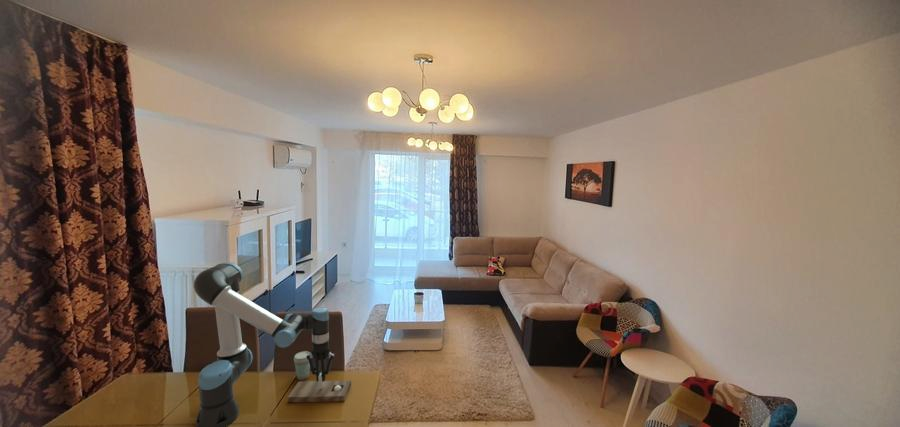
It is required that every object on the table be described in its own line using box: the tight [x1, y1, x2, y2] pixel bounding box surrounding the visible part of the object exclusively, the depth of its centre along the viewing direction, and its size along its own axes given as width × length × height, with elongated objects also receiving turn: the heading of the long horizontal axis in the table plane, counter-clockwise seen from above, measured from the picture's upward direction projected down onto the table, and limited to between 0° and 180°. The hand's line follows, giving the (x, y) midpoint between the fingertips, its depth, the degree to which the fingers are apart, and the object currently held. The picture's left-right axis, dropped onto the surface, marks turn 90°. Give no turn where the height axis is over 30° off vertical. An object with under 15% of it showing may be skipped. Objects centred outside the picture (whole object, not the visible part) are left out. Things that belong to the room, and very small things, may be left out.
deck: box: [287, 380, 352, 403], centre depth 158 cm, size 26×12×2 cm, turn 93°
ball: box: [333, 385, 342, 392], centre depth 158 cm, size 4×4×4 cm
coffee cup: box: [293, 350, 311, 381], centre depth 171 cm, size 8×9×12 cm
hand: (321, 387), depth 158 cm, fingers closed
